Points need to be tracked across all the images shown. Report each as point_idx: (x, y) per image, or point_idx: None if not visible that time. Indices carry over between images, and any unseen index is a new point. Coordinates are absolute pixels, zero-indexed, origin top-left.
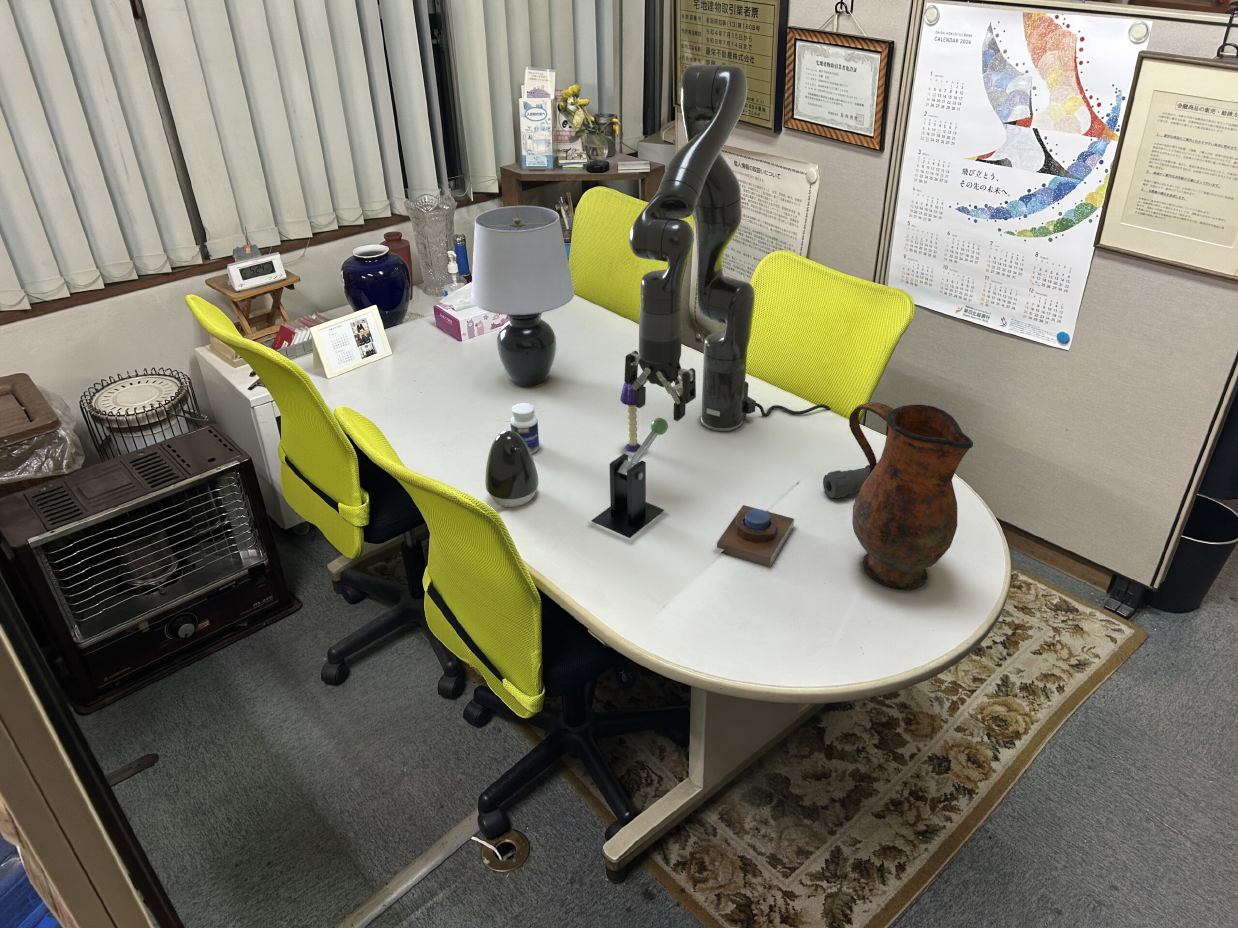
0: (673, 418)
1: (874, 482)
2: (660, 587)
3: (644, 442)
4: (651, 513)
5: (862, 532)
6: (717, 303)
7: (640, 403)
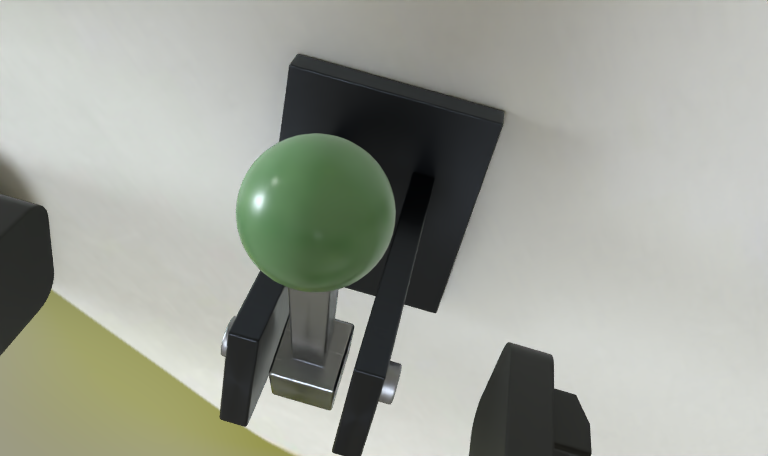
0: (472, 441)
1: None
2: (608, 440)
3: (297, 308)
4: (457, 167)
5: None
6: None
7: (22, 304)
